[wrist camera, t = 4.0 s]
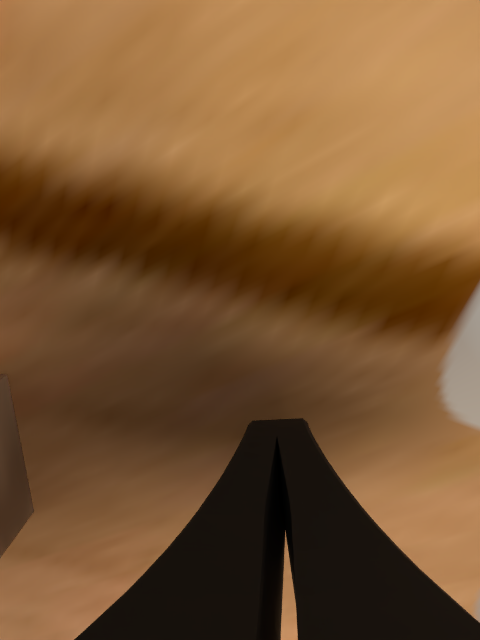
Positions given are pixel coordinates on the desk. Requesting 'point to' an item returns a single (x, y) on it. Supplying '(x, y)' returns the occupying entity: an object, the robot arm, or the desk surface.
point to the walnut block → (11, 472)
